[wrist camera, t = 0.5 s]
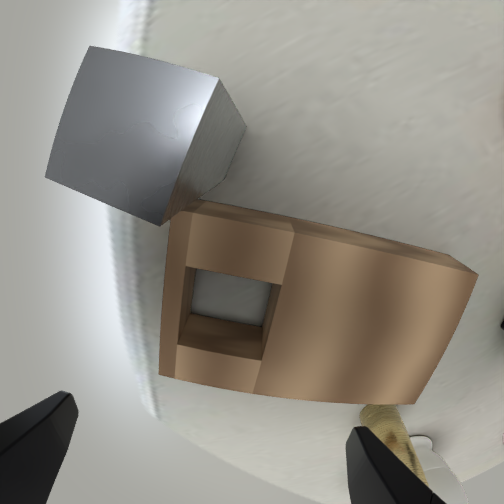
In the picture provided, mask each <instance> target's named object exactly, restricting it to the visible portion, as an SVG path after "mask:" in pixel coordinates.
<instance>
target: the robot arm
mask: <svg viewBox="0 0 504 504" xmlns="http://www.w3.org/2000/svg"><path fill="white" fill-rule="evenodd" d="M501 328H502V329H503V330H504V322H503V323H502V326H501ZM77 418H78V408H77V405H76V403H75V400H74V397H73V395H72V394H71V393H68V392H65V391H59V392H57V393H55V394H53V395H52V396H50V397H48V398H46V399H44V400H43V401H41V402H39V403H37V404H35V405H33V406H32V407H30V408H28V409H26V410H24V411H22V412H21V413H19V414H17V415H15V416H13V417H11V418H10V419H8V420H6V421H4V422H2V423H0V504H46V502H47V500H48V497H49V494H50V492H51V489H52V486H53V484H54V481H55V479H56V477H57V474H58V472H59V469H60V467H61V465H62V462H63V460H64V457H65V455H66V452H67V450H68V447H69V444H70V440H71V437H72V434H73V431H74V427H75V424H76V421H77ZM346 459H347V475H348V488H349V494H350V499H351V504H447V503H445V502H444V501H443V500H442V499H441V498H440V497H439V496H438V495H437V494H435V493H433V491H432V490H431V489H430V488H429V487H428V486H427V485H426V484H425V483H424V482H423V481H422V480H421V479H420V478H419V477H418V476H416V475H415V474H414V473H413V472H412V471H411V470H410V469H409V468H408V467H407V466H406V465H405V464H404V463H403V462H402V461H401V460H400V459H399V458H398V457H397V456H396V455H395V454H394V453H393V452H392V451H391V450H390V449H389V448H388V447H387V446H386V445H385V444H384V443H383V442H382V441H381V440H380V439H379V438H378V437H377V436H376V435H375V434H374V433H373V432H372V431H371V430H370V429H369V428H368V427H366V426H358V427H354V428H353V429H352V431H351V433H350V436H349V438H348V440H347V442H346Z"/></svg>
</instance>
